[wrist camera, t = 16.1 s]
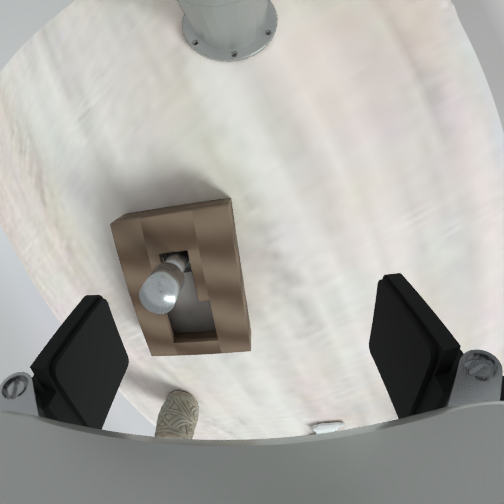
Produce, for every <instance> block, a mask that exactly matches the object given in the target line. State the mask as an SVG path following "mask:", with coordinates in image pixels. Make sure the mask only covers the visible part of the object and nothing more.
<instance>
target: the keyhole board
mask: <svg viewBox="0 0 504 504" xmlns="http://www.w3.org/2000/svg"><path fill="white" fill-rule="evenodd" d="M110 225H111V230H112V234H113V238H114V241H115V245H116V249H117V253H118V256H119V260H120V263H121V267H122V270H123V274H124V277H125V280H126V284H127V287H128V290H129V293H130V296H131V299H132V303H133V306H134V309H135V311H136V314H137V317H138V320H139V323H140V326H141V329H142V331H143V334H144V337H145V340H146V342H147V345H148V347H149V350H150V353H151V355H152V356H176V355H200V354H217V353H232V352H244V351H251V328H250V322H249V315H248V309H247V302H246V296H245V289H244V283H243V276H242V270H241V263H240V257H239V250H238V243H237V236H236V230H235V223H234V216H233V209H232V202H231V198H226V199H219V200H212V201H204V202H197V203H191V204H184V205H178V206H171V207H165V208H159V209H153V210H147V211H141V212H135V213H129V214H124V215H123V216H121V217H120V218H118V219H117V220H115V221H114V222H112V223H111V224H110ZM186 250H188V255H189V260H190V264H191V269H192V274H193V278H194V283H195V287H196V292H197V296H198V300H199V301H206V300H209V301H210V306H211V310H212V315H213V319H214V323H215V328H216V331H207V332H192V333H174V334H173V331H172V328H171V325H170V321H169V318H168V315H167V313H165V314H155V313H152V312H150V311H149V310H147V309H146V308H145V307H144V306H143V305H142V303H141V301H140V298H139V292H140V289H141V287H142V286H143V284H144V283H145V281H146V280H147V278H148V277H149V275H150V274H151V272H152V271H153V270H154V268H155V267H156V266H157V265H158V264H160V263H163V259H162V255H161V253H170V252H178V251H186Z"/></svg>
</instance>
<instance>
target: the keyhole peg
mask: <svg viewBox="0 0 504 504" xmlns="http://www.w3.org/2000/svg"><path fill="white" fill-rule="evenodd" d="M163 258H164V261H165V262H163V263H160V264H158V265H157V266H156V267H155V268H154V270H153V271H152V272H151V274H150V275H149V277H148V278H147V280H146V281H145V283H144V284H143V286H142V287H141V289H140V292H139V298H140V301H141V303H142V305H143V306H144V307H145V308H146V309H147V310H149V311H150V312H152V313H155V314H165V313H168V312H169V311H171V310H172V308H173V307H174V304H175V302H176V300H177V298H178V295H179V293H180V291H181V288H182V286H183V284H184V275H183V272H189V271H192V269H191V264H190V260H189V255H188V250H186V251H178V252H170V253H163Z"/></svg>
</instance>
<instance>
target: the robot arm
mask: <svg viewBox="0 0 504 504" xmlns="http://www.w3.org/2000/svg"><path fill="white" fill-rule="evenodd" d="M177 2H178V4H179V5H180V7H181V9H182V10H183V12H184V13H185V14H184V17H183V24H182V28H183V33H184V36H185V38H186V40H187V42H188V43H189V45H190V46H191V47H192V48H193V49H194V50H195V51H196V52H198V53H199V54H201V55H202V56H204V57H207V58H209V59H212V60H217V61H226V62H230V61H239V60H243V59H246V58H249V57H251V56H253V55H255V54H257V53H258V52H260V51H262V50H263V49H264V48H265V47H266V46H267V45H268V44H269V43H270V41H271V40H272V38H273V36H274V34H275V32H276V27H277V14H276V10H275V8H274V6H273V4H272V3H271V1H270V0H177ZM266 33H269V34H270V35H266ZM195 43H198V44H197V45H195ZM234 54H236V57H233V55H234ZM369 349H370V353H371V355H372V357H373V359H374V361H375V364H376V366H377V368H378V370H379V373H380V375H381V377H382V380H383V382H384V384H385V387H386V389H387V391H388V394H389V396H390V398H391V401H392V403H393V406H394V408H395V411H396V413H397V415H398V418H399V419H397V420H393V421H388V422H384V423H379V424H374V425H369V426H364V427H358V428H353V429H347V430H341V431H335V432H328V433H321V434H313V435H305V436H295V437H284V438H270V439H251V440H196V439H176V438H163V437H152V436H142V435H133V434H126V433H119V432H112V431H106V430H102V427H103V424H104V422H105V419H106V417H107V414H108V412H109V409H110V407H111V405H112V402H113V400H114V397H115V395H116V393H117V390H118V388H119V386H120V383H121V381H122V379H123V376H124V374H125V372H126V369H127V367H128V363H129V359H128V355H127V353H126V350H125V348H124V345H123V343H122V340H121V338H120V335H119V333H118V330H117V327H116V325H115V322H114V319H113V316H112V314H111V311H110V308H109V305H108V302H107V301H106V299H103V297H102V296H100V295H87V296H85V297H84V298H83V299H82V300H81V302H80V303H79V304H78V305H77V306H76V308H75V309H74V310H73V311H72V312H71V314H70V315H69V316H68V317H67V319H66V320H65V321H64V322H63V324H62V325H61V326H60V328H59V329H58V330H57V331H56V333H55V334H54V335H53V337H52V338H51V339H50V341H49V342H48V343H47V345H46V346H45V347H44V349H43V350H42V351H41V353H40V354H39V355H38V357H37V358H36V359H35V361H34V362H33V364H32V365H31V366H30V368H31V369H32V371H33V373H34V376H33V377H31V376H30V375H29V374H28V373H25V372H18V373H15V374H12V375H10V376H9V377H7V378H6V379H5V380H4V381H3V383H2V384H1V385H0V504H504V376H502V366H501V364H500V362H499V360H498V359H497V358H496V357H495V356H494V355H492V354H491V353H489V352H486V351H484V350H470V351H468V352H466V353H465V354H463V352H462V351H461V350H460V345H459V343H458V342H457V341H456V339H455V338H454V337H453V335H452V334H451V333H450V332H449V330H448V329H447V328H446V327H445V325H444V324H443V323H442V322H441V320H440V319H439V318H438V317H437V315H436V314H435V313H434V312H433V310H432V309H431V308H430V307H429V306H428V304H427V303H426V302H425V301H424V300H423V298H422V297H421V296H420V295H419V294H418V292H417V291H416V290H415V289H414V288H413V287H412V286H411V284H410V283H409V282H408V281H407V280H406V279H405V278H404V276H403V275H402V274H400V273H397V274H388V275H384V276H383V279H382V280H379V282H378V287H377V295H376V302H375V309H374V316H373V323H372V329H371V335H370V340H369Z"/></svg>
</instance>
